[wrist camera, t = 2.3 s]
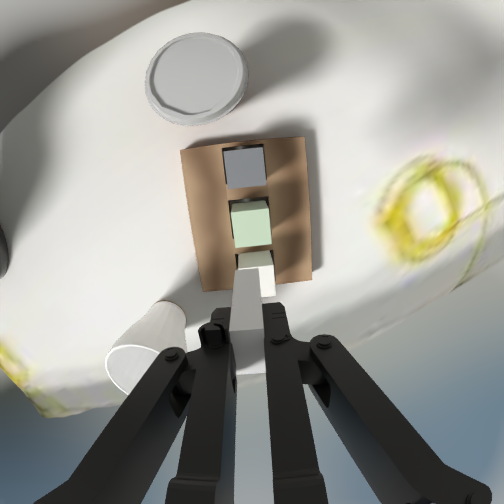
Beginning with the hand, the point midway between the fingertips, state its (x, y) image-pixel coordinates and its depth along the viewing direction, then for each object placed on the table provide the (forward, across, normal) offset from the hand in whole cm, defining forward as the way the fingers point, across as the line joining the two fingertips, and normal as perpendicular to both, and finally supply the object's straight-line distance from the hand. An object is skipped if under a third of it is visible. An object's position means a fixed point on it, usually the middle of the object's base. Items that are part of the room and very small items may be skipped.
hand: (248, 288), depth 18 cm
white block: (+18, 0, -6) cm, 19 cm away
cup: (+20, -14, -14) cm, 28 cm away
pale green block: (+18, 0, 0) cm, 18 cm away
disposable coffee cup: (+20, -4, +16) cm, 26 cm away
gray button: (+18, 0, +7) cm, 19 cm away
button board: (+20, 0, 0) cm, 20 cm away
